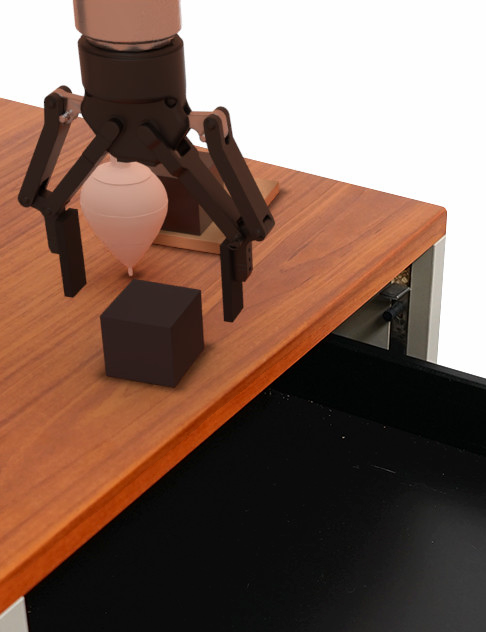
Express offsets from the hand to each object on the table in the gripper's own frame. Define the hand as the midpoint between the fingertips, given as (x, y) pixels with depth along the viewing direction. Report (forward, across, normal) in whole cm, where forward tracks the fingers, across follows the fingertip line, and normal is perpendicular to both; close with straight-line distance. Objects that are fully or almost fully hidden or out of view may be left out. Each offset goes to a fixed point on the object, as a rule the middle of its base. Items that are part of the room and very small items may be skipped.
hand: (154, 302), depth 113 cm
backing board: (+5, +7, -29) cm, 30 cm away
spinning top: (+6, +8, -14) cm, 17 cm away
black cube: (+6, 0, 0) cm, 6 cm away
